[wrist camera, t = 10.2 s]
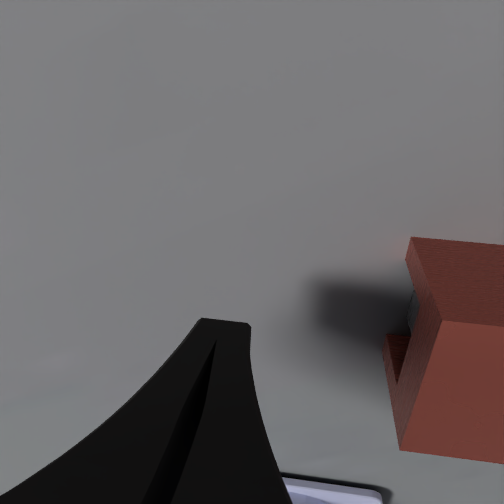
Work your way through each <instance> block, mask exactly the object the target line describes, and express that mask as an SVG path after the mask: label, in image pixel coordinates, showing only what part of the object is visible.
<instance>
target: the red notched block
mask: <svg viewBox="0 0 504 504" xmlns="http://www.w3.org/2000/svg"><path fill="white" fill-rule="evenodd" d="M405 261H406V264H407V267H408V270H409V273H410V276H411V279H412V282H413V285H414V289H415V292H416V295H417V298H418V301H419V304H420V307H419V310H418V314H417V317H416V321H415V324H414V328H413V331H412V335H411V337H409V336H400V335H391V334H386V338H385V342H384V346H383V350H382V354H383V360H384V365H385V371H386V377H387V382H388V388H389V393H390V399H391V405H392V410H393V416H394V422H395V427H396V433H397V439H398V444H399V450H402V451H409V452H417V453H424V454H432V455H439V456H447V457H454V458H462V459H469V460H477V461H484V462H492V463H499V464H504V245H496V244H485V243H474V242H463V241H452V240H441V239H430V238H419V237H411V238H410V242H409V246H408V250H407V254H406V258H405Z"/></svg>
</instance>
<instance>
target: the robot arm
mask: <svg viewBox="0 0 504 504" xmlns="http://www.w3.org/2000/svg"><path fill="white" fill-rule="evenodd" d="M250 342H251V326H250V325H249V324H248V323H243V322H234V321H225V320H217V319H208V318H201V319H200V320H198V321H197V323H196V324H195V325H194V327H193V328H192V329H191V331H190V332H189V334H188V335H187V336H186V337H185V339H184V340H183V341H182V343H181V344H180V345H179V346H178V347H177V349H176V350H175V351H174V352H173V353H172V355H171V356H170V357H169V358H168V359H167V360H166V361H165V363H164V364H163V365H162V366H161V367H160V368H159V369H158V371H157V372H156V373H155V374H154V375H153V376H152V377H151V378H150V379H149V380H148V381H147V382H146V383H145V384H144V385H143V386H142V387H141V388H140V389H139V390H138V391H137V392H136V393H135V394H134V395H133V396H132V397H131V398H130V399H129V400H128V401H127V402H126V403H125V404H124V405H123V406H122V407H121V408H120V409H118V410H117V411H116V412H115V413H114V414H113V415H112V416H111V417H109V418H108V419H107V420H106V421H105V422H104V423H102V424H101V425H100V426H99V427H98V428H96V429H95V430H94V431H93V432H91V433H90V434H89V435H88V436H86V437H85V438H84V439H83V440H81V441H80V442H79V443H78V444H76V445H75V446H74V447H72V448H71V449H70V450H68V451H67V452H66V453H64V454H63V455H61V456H60V457H59V458H57V459H56V460H54V461H53V462H51V463H50V464H48V465H47V466H45V467H44V468H43V469H41V470H40V471H38V472H37V473H35V474H34V475H32V476H31V477H29V478H28V479H26V480H25V481H23V482H22V483H20V484H19V485H17V486H16V487H14V488H12V489H11V490H9V491H8V492H6V493H4V494H3V495H1V496H0V504H383V502H382V496H381V494H380V493H378V492H377V491H374V490H369V489H362V488H355V487H348V486H341V485H334V484H327V483H320V482H313V481H306V480H299V479H292V478H285V477H282V476H281V474H280V471H279V469H278V466H277V463H276V460H275V458H274V455H273V452H272V449H271V446H270V443H269V440H268V437H267V434H266V430H265V427H264V424H263V420H262V416H261V412H260V408H259V405H258V400H257V396H256V391H255V386H254V380H253V375H252V369H251V361H250Z"/></svg>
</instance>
